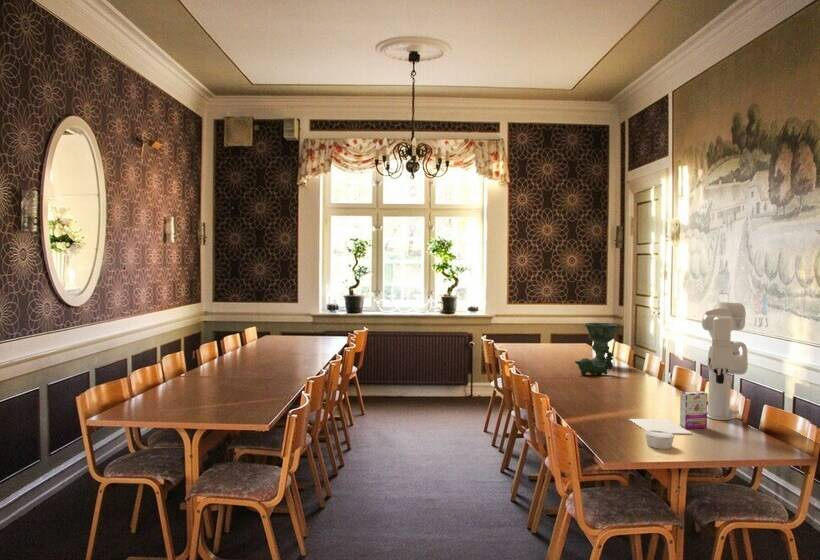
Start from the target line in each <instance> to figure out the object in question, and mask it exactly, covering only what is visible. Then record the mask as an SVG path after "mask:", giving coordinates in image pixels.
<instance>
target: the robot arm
mask: <svg viewBox="0 0 820 560" xmlns="http://www.w3.org/2000/svg"><path fill="white" fill-rule="evenodd" d="M746 318H747V317H746V308H745V306H744V304H743V303H740V302H725V301H724V302H723V301H722V302H718V303H716V304H714V306H713V309H711V310H708V311H705V312H703V315H702V318H701V319H702V320H701V325H702V326H701V327H702V329H703V330H705V331H707V332H708V333H709V335H710V338H711V339H712V341H711V345H710V347H709V349H708V355H707V360H706V361H707V366H708V396H707V419H711V420H716V421H718V420H719V421H731V420H733V415H739V414H740V410H737V409H732V408H730V406H731V405H730V404H731V381H730V380H729V378H728V377H727V375H728V374H729V375H745V374H746V373H747V371H748V368H749V366H748V365H749V361H748V360H749V359H748V358H749V357H748V347H747V345H746V344H745V343H744V342H742V341H735V340H733V341H731V336H732V335H731V333H732V332H733V331H742V330H744V329H745V325H746ZM726 374H727V375H726Z"/></svg>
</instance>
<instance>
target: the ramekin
mask: <svg viewBox="0 0 820 560" xmlns="http://www.w3.org/2000/svg"><path fill="white" fill-rule="evenodd" d="M645 438H646V444H647V446H648V445H649V446H648V447H650V448H652V447H653V448H652V449H656V448H658V449H657V450H669V449H671V448H672V446H673V442H674V439H675V434H671V433H668V432H664V431H656V430H651V431H645Z"/></svg>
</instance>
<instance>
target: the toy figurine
mask: <svg viewBox="0 0 820 560" xmlns="http://www.w3.org/2000/svg"><path fill="white" fill-rule="evenodd" d="M609 350H610V349H609ZM609 350H608V349H602V350H601V351H600V352H602V351H604V352H605V354H606V356H605V358H606V360H605V363H604V364H603V365H602V366H600V365H596V364H594V363H593V362H592V361H591V359H590V358H587V357H585V358H582V359H580V360H575V361H574V363H575V364H576V365H578V369H579V370H580V374H581V376H585V375H586V374H587V373H589V374H590V375H592V376H596V375H598V376H600V377H601V376H602V375H603V374H604V375H607V374H608V370H612V368H613V367H610V365H611V364H613V362H612V360H613V359H614V358H613V356H614V353H613V352H611V351H609Z"/></svg>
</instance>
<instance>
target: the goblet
mask: <svg viewBox="0 0 820 560" xmlns="http://www.w3.org/2000/svg"><path fill="white" fill-rule="evenodd" d="M584 326H585V327H586V329H587V333H588V336H587V337H588V338H589V340H590V341H592V342H593V344H592V346H591V349H592V350H593V351H594V353H595V357H594V358H591V359H590V360H591V361H592V362H593V363H594V364H596V365H600V366H602V365H603V364H604V363H605V360H606V356H605V355H606V353H605V352H604V351H602V352H600V351H601V350H602V349H608V350H610V346H609V342H611V341H613V339H614V333H615V331H616V329H617V328H618V326H619V325H618V324H615V323H611V322H587V323H585V324H584ZM610 367H612V368H613V367H614V365H613V364H611V365H610Z"/></svg>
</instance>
